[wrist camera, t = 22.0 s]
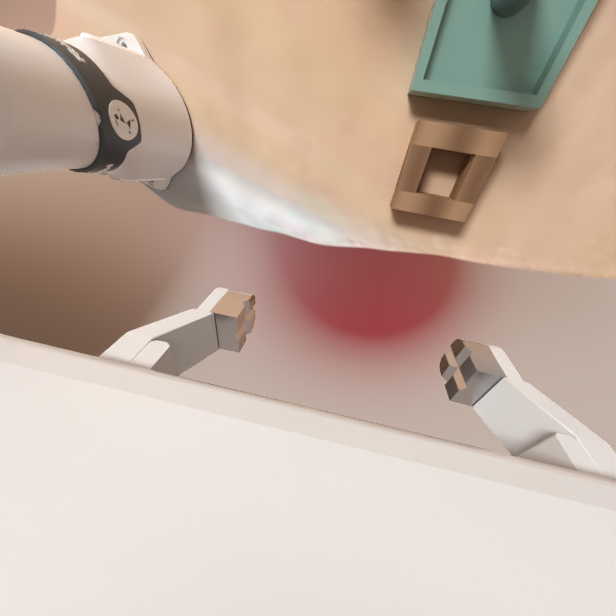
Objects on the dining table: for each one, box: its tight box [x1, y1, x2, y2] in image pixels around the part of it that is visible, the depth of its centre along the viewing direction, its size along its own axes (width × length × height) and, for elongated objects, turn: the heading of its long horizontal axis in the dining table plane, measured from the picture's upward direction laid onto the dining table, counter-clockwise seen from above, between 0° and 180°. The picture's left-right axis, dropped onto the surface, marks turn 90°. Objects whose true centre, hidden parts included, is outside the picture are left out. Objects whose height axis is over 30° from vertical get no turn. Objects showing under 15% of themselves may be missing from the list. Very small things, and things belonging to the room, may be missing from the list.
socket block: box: [390, 120, 509, 223], centre depth 32 cm, size 10×10×3 cm
